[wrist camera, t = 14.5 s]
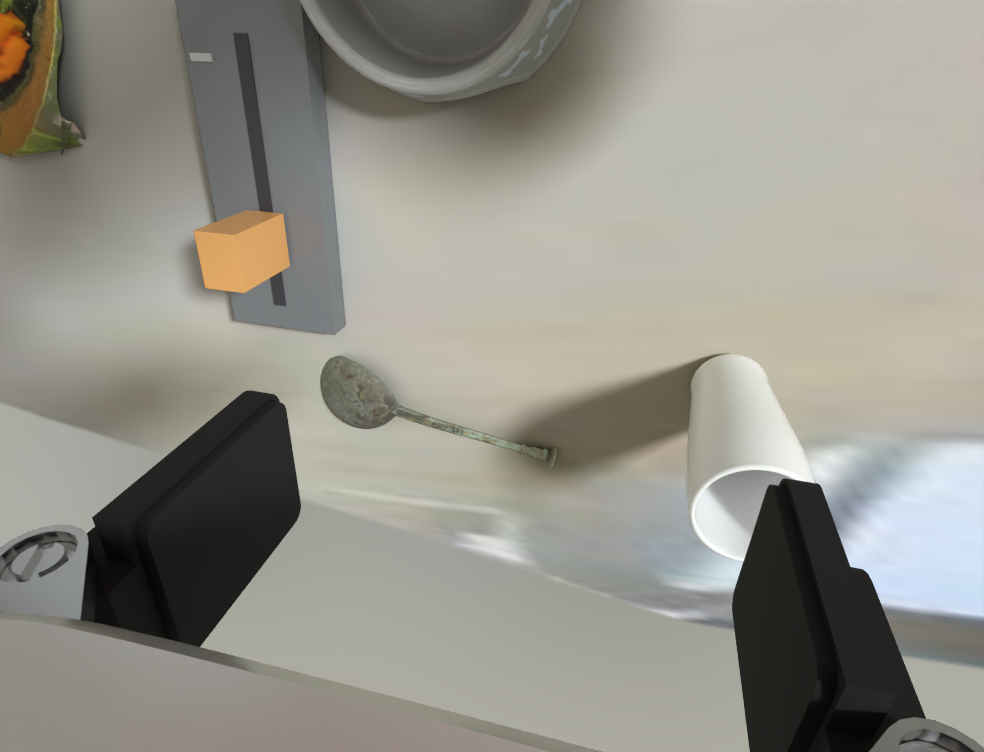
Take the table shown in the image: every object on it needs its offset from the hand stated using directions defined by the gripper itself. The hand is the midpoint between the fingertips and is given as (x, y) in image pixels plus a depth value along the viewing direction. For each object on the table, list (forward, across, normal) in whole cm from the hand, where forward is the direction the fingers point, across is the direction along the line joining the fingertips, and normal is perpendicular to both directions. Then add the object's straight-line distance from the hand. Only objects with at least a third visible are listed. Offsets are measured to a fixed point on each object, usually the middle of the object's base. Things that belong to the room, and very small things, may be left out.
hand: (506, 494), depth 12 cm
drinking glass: (+34, -10, +14) cm, 38 cm away
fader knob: (+31, +25, +6) cm, 40 cm away
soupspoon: (+34, +13, +21) cm, 42 cm away
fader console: (+33, +25, +2) cm, 42 cm away
